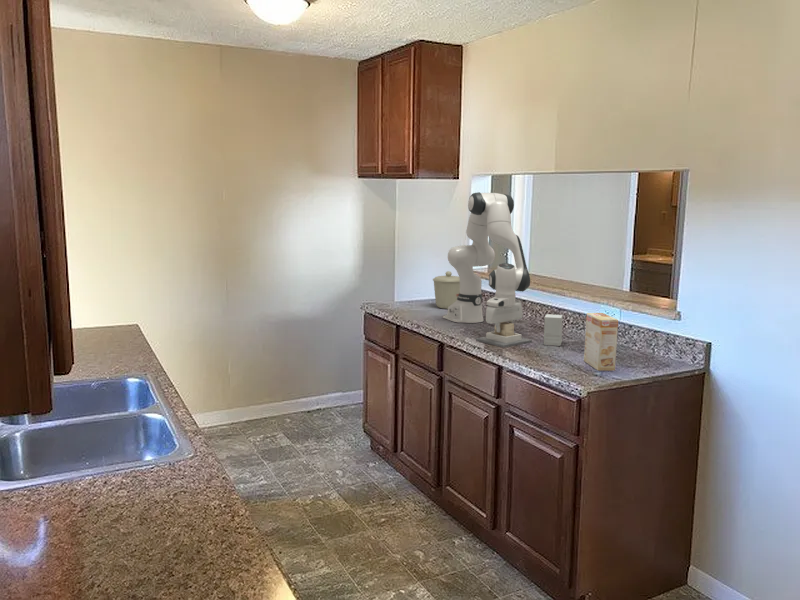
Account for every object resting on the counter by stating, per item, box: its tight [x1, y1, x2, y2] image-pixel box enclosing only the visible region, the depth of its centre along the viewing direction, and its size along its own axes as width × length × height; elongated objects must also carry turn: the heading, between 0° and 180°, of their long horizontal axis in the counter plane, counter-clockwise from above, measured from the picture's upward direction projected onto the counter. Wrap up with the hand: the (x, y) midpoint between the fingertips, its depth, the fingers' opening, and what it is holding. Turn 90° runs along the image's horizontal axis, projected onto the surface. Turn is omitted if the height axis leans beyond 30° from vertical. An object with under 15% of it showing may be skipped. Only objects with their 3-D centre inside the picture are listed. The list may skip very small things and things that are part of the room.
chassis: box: [475, 330, 533, 348], centre depth 294 cm, size 17×18×4 cm
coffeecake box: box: [583, 312, 619, 372], centre depth 252 cm, size 15×7×20 cm, turn 5°
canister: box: [432, 270, 460, 310], centre depth 378 cm, size 18×18×21 cm
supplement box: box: [543, 313, 564, 347], centre depth 289 cm, size 7×7×13 cm
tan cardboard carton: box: [494, 321, 515, 337], centre depth 294 cm, size 7×5×6 cm
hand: (504, 331), depth 294 cm, fingers closed on tan cardboard carton, 5 cm apart
